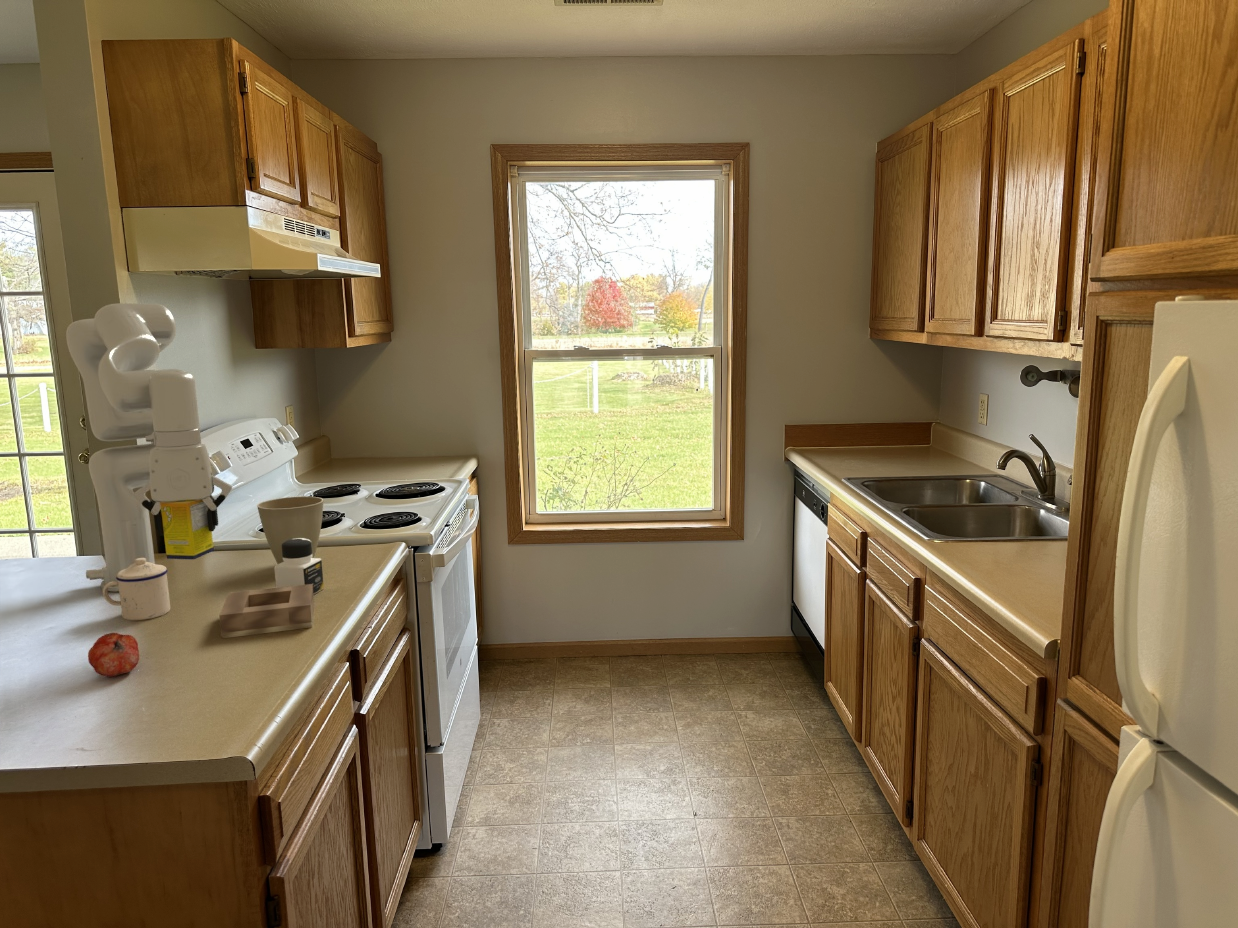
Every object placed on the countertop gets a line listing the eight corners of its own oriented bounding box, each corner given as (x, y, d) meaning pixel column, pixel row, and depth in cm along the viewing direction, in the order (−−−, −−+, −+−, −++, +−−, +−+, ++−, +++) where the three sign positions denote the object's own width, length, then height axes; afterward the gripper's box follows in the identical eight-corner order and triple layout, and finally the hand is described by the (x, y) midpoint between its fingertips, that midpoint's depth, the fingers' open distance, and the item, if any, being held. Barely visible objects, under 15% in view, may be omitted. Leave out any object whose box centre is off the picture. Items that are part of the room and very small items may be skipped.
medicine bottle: (306, 599, 178) (301, 545, 176) (276, 597, 179) (271, 543, 177) (324, 589, 185) (320, 536, 183) (295, 587, 186) (290, 535, 184)
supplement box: (186, 550, 161) (180, 494, 159) (214, 551, 160) (208, 495, 158) (165, 559, 155) (158, 501, 153) (194, 560, 154) (188, 502, 152)
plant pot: (336, 567, 201) (330, 502, 198) (270, 579, 193) (264, 511, 190) (319, 554, 213) (314, 493, 210) (257, 564, 205) (251, 501, 202)
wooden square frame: (221, 638, 156) (219, 615, 156) (230, 614, 170) (228, 592, 169) (312, 627, 161) (310, 604, 161) (314, 604, 174) (312, 583, 174)
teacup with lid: (176, 604, 176) (170, 550, 174) (165, 618, 168) (158, 562, 166) (113, 610, 173) (106, 556, 171) (98, 625, 165) (91, 568, 163)
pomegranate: (87, 688, 141) (87, 669, 134) (88, 646, 144) (87, 626, 137) (138, 682, 145) (140, 663, 138) (137, 641, 148) (140, 621, 141)
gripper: (119, 444, 148) (131, 541, 151) (226, 439, 153) (235, 532, 156) (130, 439, 155) (141, 531, 158) (232, 434, 160) (241, 523, 163)
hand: (188, 531), depth 157 cm, fingers closed on supplement box, 7 cm apart
